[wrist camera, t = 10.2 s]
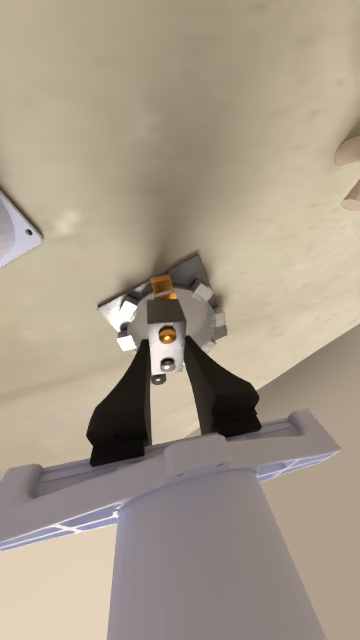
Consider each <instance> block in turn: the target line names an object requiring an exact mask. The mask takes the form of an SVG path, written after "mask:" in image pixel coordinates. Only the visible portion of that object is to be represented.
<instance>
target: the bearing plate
mask: <svg viewBox="0 0 360 640" xmlns="http://www.w3.org/2000/svg"><path fill="white" fill-rule="evenodd" d="M167 274H169V275H170V278H171V282H172V285H179V286H185V287H189V288H191V287H192V285H193V284H194V282H195V281H196V280H197V279H198V280H199V281H201V282H202V283H204V284H205V285H207V286H208V287H210V285H209V282H208V280H207V277H206V274H205V271H204V269H203V266H202V263H201V260H200V257H199V255H198V254H197V255H195V256H193V257H191V258H189V259H187V260H186V261H184V262H182V263H180V264H178V265H176V266H174V267H173V268H171V269H169V270H167V271H165V272H163V273H161V274H159V275H158V276H162V275H167ZM158 276H156V277H158ZM151 290H153V288H152V285H151V279H150V280H148V281H146V282H144V283H143V284H141V285H139V286H137V287H135V288H133V289H131V290H129V291H128V292H126V293H124V294H122V295H120V296H118V297H116V298H115V299H113V300H111V301H109V302H107V303H105V304H103V305H101V306H100V307H98V308H97V310H98V311H99V312H100V313H101V314H102V315H103V316H104V317H105V318H106V319H107V321H108V322H109V323H110V324H111V325H112V326H113V327H114V328H115V329H116V330H117V331H118V332H120V331H124V330H127V326H128V320H126V319H124V318H121V317H119V316H117V315H118V312H119V309H120V307H121V305H122V303H123V302H124V300H125V298H126V296H130V297H132V298H134V299H136V300H139V299H140V298H141V297H142V296H143V295H145V294H146V293H148V292H149V291H151ZM207 302H208V303H209V304H210V306H211V307H212V309H213V308H217V305H216V302H215V299H214V296H213V295H212V296H211V297H210V299H209V300H208V301H207ZM226 335H227V332H226V330H225V327H224V326H220V327H216V328H215V331H214V334H213V336H212V337H213V339H214V340H217V339H219V338H221V337H224V336H226Z"/></svg>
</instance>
